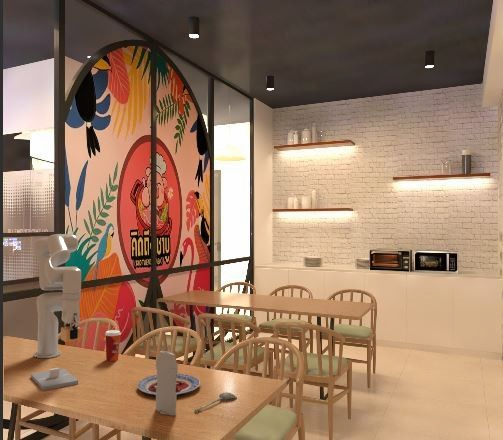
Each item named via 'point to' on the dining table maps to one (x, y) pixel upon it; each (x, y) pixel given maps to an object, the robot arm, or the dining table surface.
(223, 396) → the soupspoon
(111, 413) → the dining table surface
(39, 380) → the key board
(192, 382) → the ceramic plate
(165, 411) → the tall pale column
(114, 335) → the paper cup
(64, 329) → the tan slotted block
